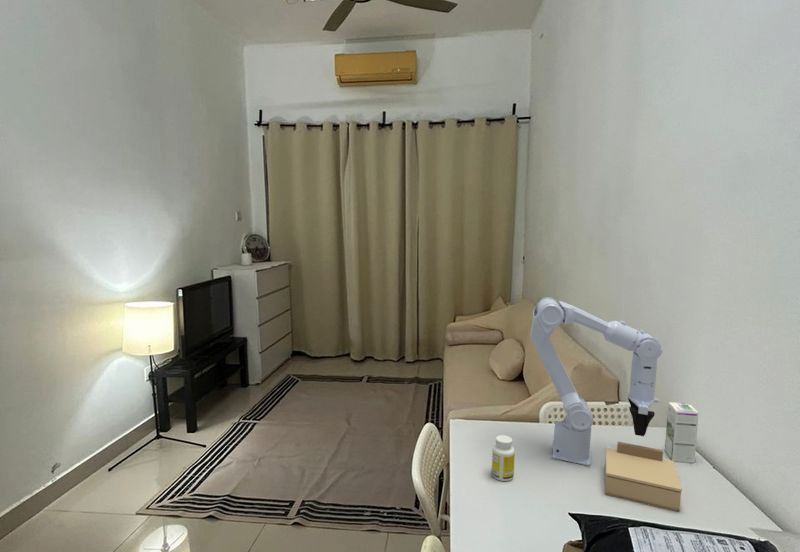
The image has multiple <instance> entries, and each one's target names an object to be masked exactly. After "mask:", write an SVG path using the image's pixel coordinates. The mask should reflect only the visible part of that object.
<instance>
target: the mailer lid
mask: <svg viewBox="0 0 800 552" xmlns="http://www.w3.org/2000/svg"><path fill="white" fill-rule="evenodd" d="M616 447H617V448H610V447H605V460H606V476H611V477H615V478H620V479H624V480H629V481H634V482H638V483H643V484H647V485H652V486H656V487H661V488H665V489H670V490H674V491H679V492H681V493H682V491H683V489H682V488H683V487H682V485H681V482H680V478H679V474H678V471H677V469H676V465H675V461H672V460H671V459H667V458H663V457H664V450H662V449H659V448H653V447H648V446H643V445H637V444H632V443H628V442H621V441H617V446H616Z"/></svg>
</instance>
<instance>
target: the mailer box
mask: <svg viewBox="0 0 800 552" xmlns="http://www.w3.org/2000/svg"><path fill="white" fill-rule="evenodd" d="M604 462H605V463H604V494H605V496H606V495H607V496H610V497H614V498H618V499H621V500H622V499H623V500H627V501H631V502H636V503H640V504H643V503H644V505H648V504H649V505H648V506H652V505H653V506H652V507H658V508H660V509H661V508H662V509H666V510H669V511H674V512H678V513H680V508H681V507H680V506H681V498H682V492H679V491H674V490H670V489H665V488H661V487H656V486H652V485H647V484H643V483H638V482H634V481H629V480H624V479H620V478H615V477H611V476H606V459H605V461H604Z"/></svg>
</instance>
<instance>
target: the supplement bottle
mask: <svg viewBox="0 0 800 552" xmlns="http://www.w3.org/2000/svg"><path fill="white" fill-rule="evenodd" d="M515 451H516V450H515V448H514V446H513V438H512V437H510V436H508V435H503V434H500V435H498V436H496V437H495V444H494V446H493V447H492V456H491V458H492V459H491V461H492V462H491V475H492V477H493V478H494V479H496V480H498V481H502V482H509V481H512V480H513V479H514V474H515V455H516V454H515V453H516V452H515Z"/></svg>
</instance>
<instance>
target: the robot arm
mask: <svg viewBox="0 0 800 552" xmlns="http://www.w3.org/2000/svg"><path fill="white" fill-rule="evenodd" d="M562 322H563V324H564V325H568V324H571V323H572V324H573V323H577V324H579V325H582V326H584V327H586V328H589V329H591V330H593V331H595V332H596V331H597V332H598V333H601V334H602V335H603V337H604V338H603V339H604V340H605V341H607V342H608V343H611V344H614V345H616V346H617V347H620V348H622V349H624V350H626V351H630V352H632V360H631V367H630V369H631V370H630V379H629V380H630V381H629V392H628V394H627V395H628V396H627V400H628V403H629V405H630V406H629V408H628V409H629V413H630V415H631V417H632V424H633V430H634V435H635V436H640V437H645V436H646V433H647V429H648V427H649V424H650V422H651V420H653V418H654V417H655V415H656V413H655V411H651V410H649V408H650V407H651V406H652V405H653V404H655V403H656V404H658V403H660V398H659V397H655V390H656V380H657V369H658V359H659V358H660V357H661V355H662V353H663V349H662V345H661V343H660V342H659V341H658V340H657V339H656V338H654V337H653V336H652V335H651V334H649V333H647V332H645V330H642V329H636V328H633V327H631V326H629V325H627V322H626V321H624V320H621V319H620V320H619V321H618V320H611V321H605V320H604V319H601V318H599V317H598V316H595V315H593V314H591V313H589V312H587V311H585V310H583V309H582V308H581V309H580V308H579V307H577V306H574V305H572V304H569V303H567V302H565V301H561V300H558V301H557V300H556V299H555V298H553V297H550V296H549V297H548V296H547V297H543V298H542V299H539V301H538V302H537V304H535V306H534V309H533V311H532V320H531V327H530V334H529V335H530V340H531V342H532V344H533V346H534V348H535V350H536V352H537V354H538V356H539V358H540V360H541V362H542V364H543V366H544V368H545V370H546V372H547V375H549V378H550V380H551V381H552V384H553V385H554V388H555V390H556V392H557V393H558V396H559V398H560V400H561V402H562V405H563V410H564V412H565V414H566V415H565V416H564V417H563V418H564V419H563V420H562V421H560V420H559V421H558V420H556V421H555V422H554V430H553V440H552V446H551V447H552V448H553V449H552V457H551V458H552V459H555V460H560V461H565V462H570V463H573V464H574V463H575V464H579V465H584V466H588V467H589V466H591V463H592V462H591V461H592V460H591V459H592V451H591V450H590V449H591V436H592V426H593V424H594V416H593V414H592V412H591V411H590V408H589V407H588V403H587V400H585V399H584V397H582V396H581V395H580V394H579V393H578V391H577V389H576V388H575V386H574V384H573V381H572V380H571V378H570V376H569V374H568V372H567V370H566V368H565V366H564V364H563V362H562V360H561V358H560V357H559V354H558V352H557V350H556V349H555V346H554V344H553V343H552V340H551V337H552V335H553V333H554V331H555V329H557V327H559V325H561V324H562Z"/></svg>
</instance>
